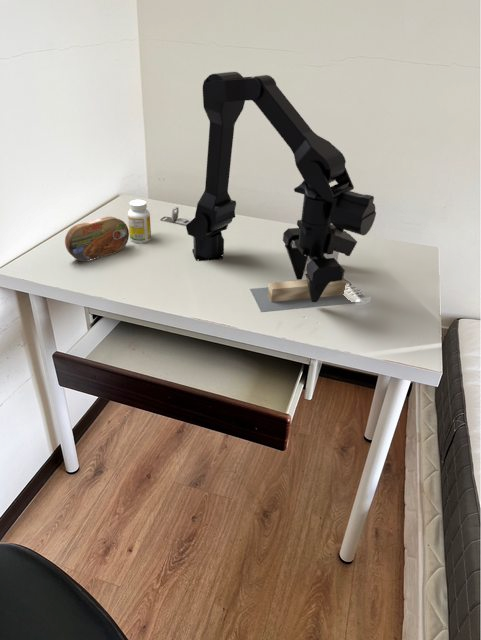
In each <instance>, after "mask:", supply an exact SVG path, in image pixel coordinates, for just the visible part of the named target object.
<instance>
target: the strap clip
mask: <svg viewBox="0 0 481 640" xmlns="http://www.w3.org/2000/svg"><path fill="white" fill-rule="evenodd" d="M179 211H180V210H179V207H178V206H175V207H173V208H172V212H171V217H170V216H164V217H162V218H160V219H159V220H160V221H161V222H165V223H174V224H176V225H179V226H184V227H186V225H187V224H188V223H189V222H190V221H191V220H190V219H186V218H179V214H180V213H179Z"/></svg>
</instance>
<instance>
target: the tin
mask: <svg viewBox="0 0 481 640" xmlns="http://www.w3.org/2000/svg"><path fill="white" fill-rule="evenodd" d="M129 239H130V233H129V226H128V225H127V223H125V221H124V220H122V219H120V218H117V217H114V216H105V217H101V218H97V219H94V220H90V221H86V222H82V223H78V224H76V225H74V226H72V227H71V228H70V229H69V230H68V231H67V233H66V235H65V239H64V244H65V248H66V250H67V252H68V253H69V254H70V255H71V256H72V257H73V258H74V259H75V260H77V261H80V262H88V261H87V260H90V259H93V260H95V259H94V258H96V259H98V258H97V257H99V258H102V257H101V256H103V257H105V255H106V256H108V255H109V256H110V255H112V254H115V252H116V253H119V252H120V251H122V250H123V249H124V248H125V247H126V245H127V244H128V243H129ZM90 261H91V260H90Z"/></svg>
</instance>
